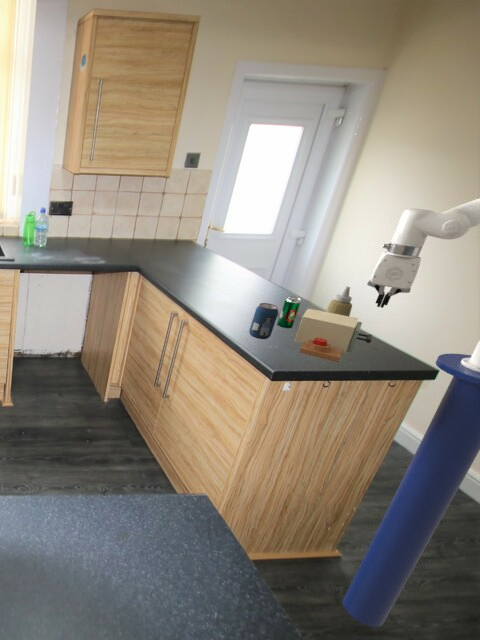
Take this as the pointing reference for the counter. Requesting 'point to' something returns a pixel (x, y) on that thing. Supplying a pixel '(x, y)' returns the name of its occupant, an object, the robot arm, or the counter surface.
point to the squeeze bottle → (341, 303)
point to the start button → (320, 341)
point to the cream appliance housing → (326, 328)
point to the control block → (321, 351)
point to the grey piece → (354, 337)
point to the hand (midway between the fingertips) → (380, 306)
